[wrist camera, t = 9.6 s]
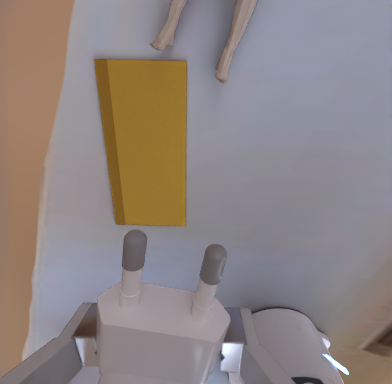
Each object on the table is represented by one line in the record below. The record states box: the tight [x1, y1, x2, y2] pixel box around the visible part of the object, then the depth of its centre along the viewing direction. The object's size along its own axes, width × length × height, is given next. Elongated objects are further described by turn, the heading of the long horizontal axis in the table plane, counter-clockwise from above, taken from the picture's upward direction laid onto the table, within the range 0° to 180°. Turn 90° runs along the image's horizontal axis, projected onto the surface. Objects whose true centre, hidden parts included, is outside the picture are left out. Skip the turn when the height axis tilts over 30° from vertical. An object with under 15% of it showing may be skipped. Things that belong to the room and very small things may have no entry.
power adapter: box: [96, 230, 230, 384], centre depth 8 cm, size 11×5×6 cm, turn 169°
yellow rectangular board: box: [94, 59, 187, 226], centre depth 24 cm, size 20×10×1 cm, turn 179°
